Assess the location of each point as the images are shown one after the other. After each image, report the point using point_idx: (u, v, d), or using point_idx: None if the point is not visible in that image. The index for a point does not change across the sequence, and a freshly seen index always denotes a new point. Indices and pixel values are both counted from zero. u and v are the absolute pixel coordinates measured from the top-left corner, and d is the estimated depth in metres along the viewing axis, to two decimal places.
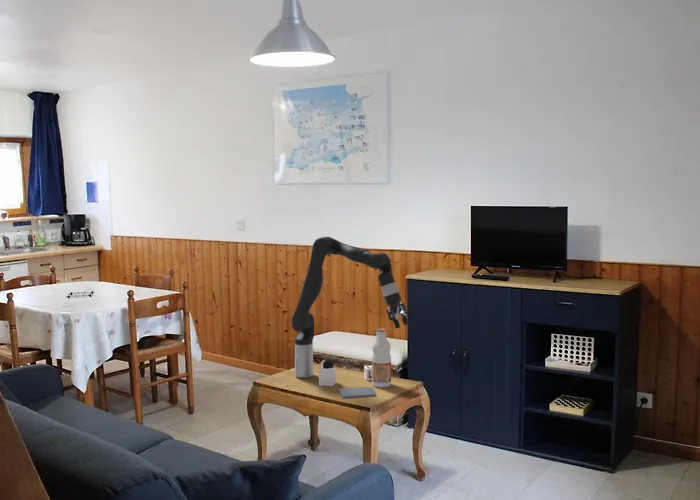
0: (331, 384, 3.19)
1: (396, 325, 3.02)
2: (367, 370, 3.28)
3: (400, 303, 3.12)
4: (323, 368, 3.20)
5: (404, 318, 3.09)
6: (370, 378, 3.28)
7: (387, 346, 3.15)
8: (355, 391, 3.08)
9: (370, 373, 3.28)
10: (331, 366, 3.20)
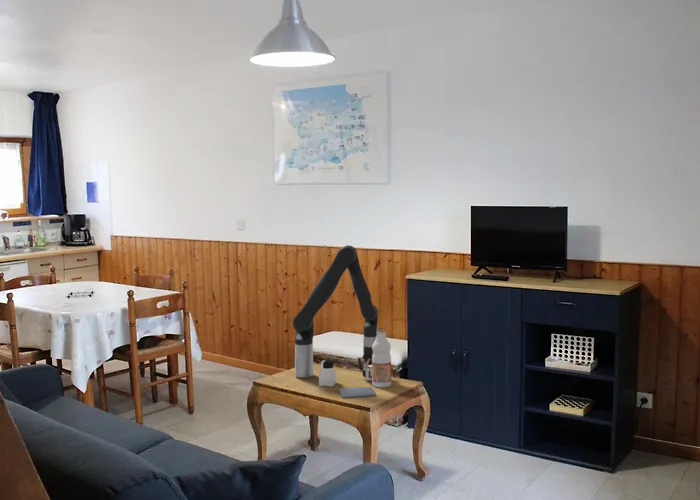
0: (331, 384, 3.19)
1: None
2: (367, 370, 3.28)
3: None
4: (323, 368, 3.20)
5: None
6: (370, 378, 3.28)
7: (387, 346, 3.15)
8: (355, 391, 3.08)
9: (370, 373, 3.28)
10: (331, 366, 3.20)
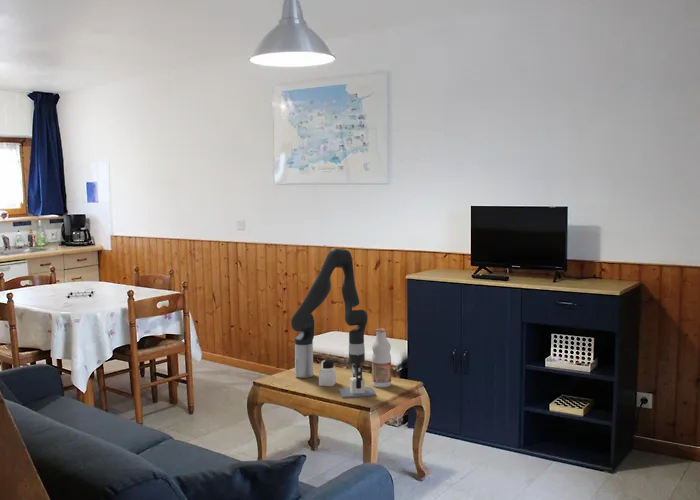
0: (331, 384, 3.19)
1: None
2: None
3: None
4: (323, 368, 3.20)
5: None
6: None
7: (387, 346, 3.15)
8: None
9: None
10: (331, 366, 3.20)
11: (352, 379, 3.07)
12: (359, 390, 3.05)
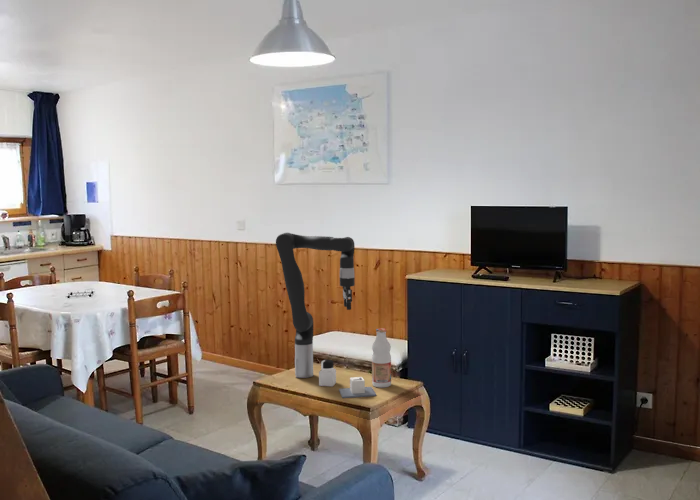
0: (331, 384, 3.19)
1: None
2: None
3: None
4: (323, 368, 3.20)
5: None
6: None
7: (387, 346, 3.15)
8: None
9: None
10: (331, 366, 3.20)
11: (352, 379, 3.07)
12: (359, 390, 3.05)
